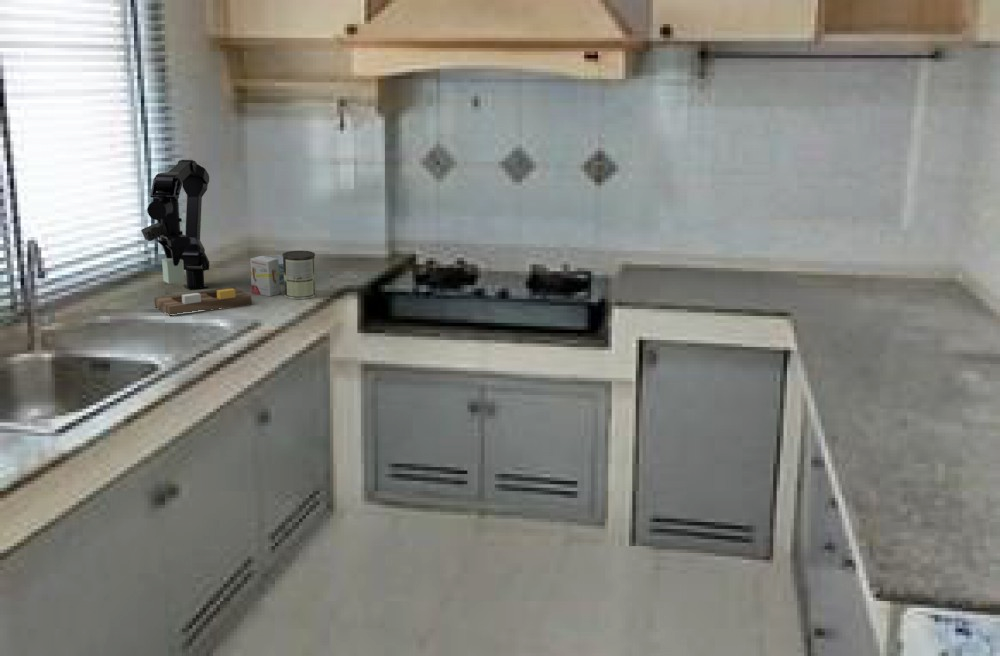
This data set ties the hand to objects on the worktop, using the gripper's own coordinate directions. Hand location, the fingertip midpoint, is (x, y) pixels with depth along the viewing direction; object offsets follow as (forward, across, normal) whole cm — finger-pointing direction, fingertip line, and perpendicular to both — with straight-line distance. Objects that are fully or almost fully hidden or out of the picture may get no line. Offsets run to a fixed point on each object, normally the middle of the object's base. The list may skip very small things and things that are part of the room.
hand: (172, 264), depth 309 cm
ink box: (+12, +5, +28) cm, 31 cm away
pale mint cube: (+6, 0, 0) cm, 6 cm away
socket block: (+12, +10, +5) cm, 17 cm away
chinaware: (+12, -10, +38) cm, 41 cm away
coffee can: (+12, +14, +36) cm, 41 cm away
